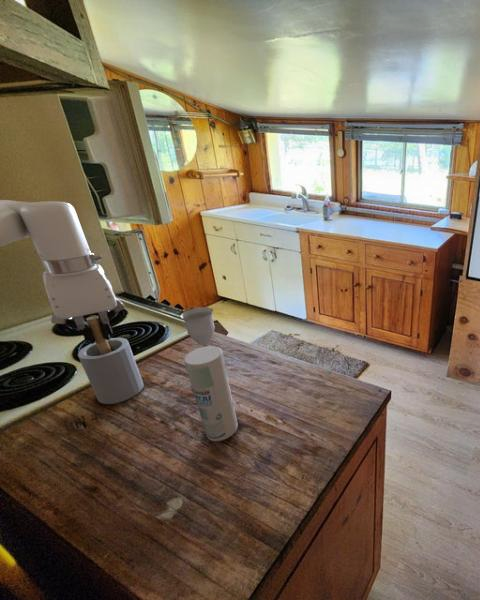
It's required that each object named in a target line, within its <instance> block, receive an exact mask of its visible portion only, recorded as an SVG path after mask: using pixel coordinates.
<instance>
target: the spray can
mask: <svg viewBox="0 0 480 600" xmlns="http://www.w3.org/2000/svg"><path fill="white" fill-rule="evenodd" d="M183 363H184V365H185V369H186V372H187V376H188V379H189V382H190V385H191V389H192V392H193V396H194V399H195V403H196V405H197V409H198V412H199V415H200V419H201V422H202V425H203V429H204V433H205V435H206V437H207V439H208V440H209V441H212V442H221V441H224V440H227V439H229V438H230V437H232V436H233V435H234V434H235V433H236V432H237V430H238V425H239V424H238V423H239V422H238V419H237V414H236V409H235V404H234V401H233V400H234V399H233V396H232V391H231V387H230V382H229V378H228V373H227V368H226V363H225V358H224V354H223V350H222V349H221V348H220V347H218V346H215V345H208V346H206V347H203V346H201V347H198V348H194V349H193V350H191V351H189V352H188V353H186V355H185V356H184V358H183Z"/></svg>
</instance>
